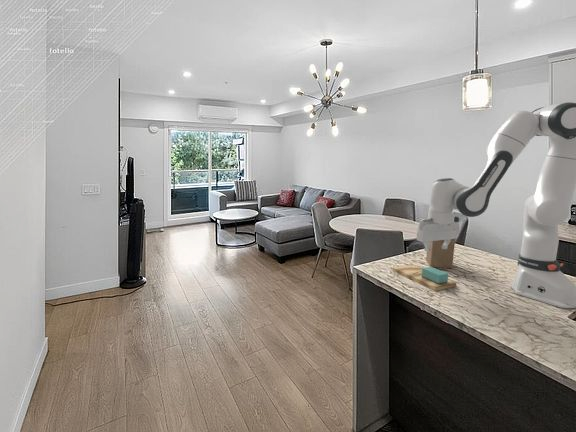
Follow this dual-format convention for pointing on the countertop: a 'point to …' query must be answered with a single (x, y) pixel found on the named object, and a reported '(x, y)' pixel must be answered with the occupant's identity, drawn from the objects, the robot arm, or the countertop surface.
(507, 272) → the countertop surface
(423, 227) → the robot arm
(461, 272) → the countertop surface
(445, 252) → the wooden block
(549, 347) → the countertop surface
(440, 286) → the oak board
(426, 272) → the block
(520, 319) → the countertop surface
